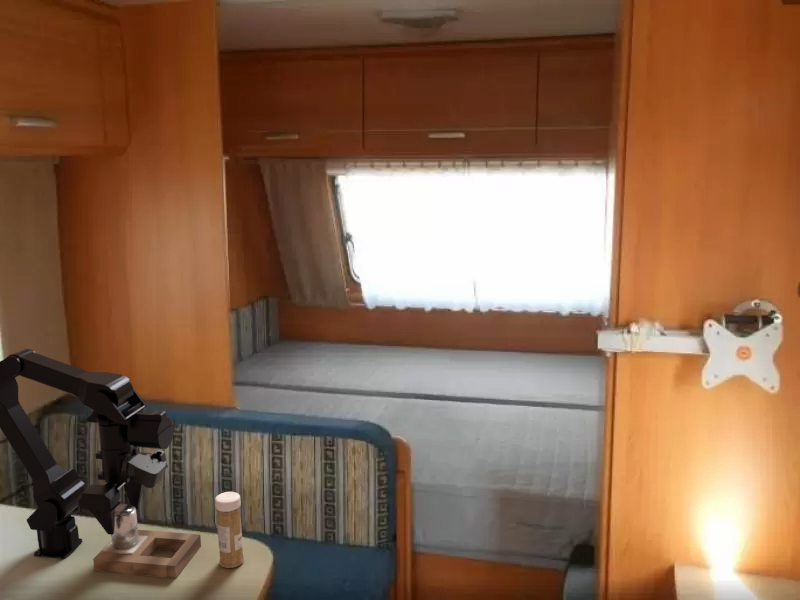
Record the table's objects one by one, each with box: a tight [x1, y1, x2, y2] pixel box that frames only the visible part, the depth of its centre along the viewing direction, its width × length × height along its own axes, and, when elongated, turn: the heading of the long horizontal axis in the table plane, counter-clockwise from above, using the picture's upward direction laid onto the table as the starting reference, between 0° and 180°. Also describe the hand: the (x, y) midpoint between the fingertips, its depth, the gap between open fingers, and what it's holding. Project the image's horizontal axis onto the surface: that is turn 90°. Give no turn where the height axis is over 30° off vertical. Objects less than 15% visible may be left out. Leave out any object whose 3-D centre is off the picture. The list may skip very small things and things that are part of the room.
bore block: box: [92, 529, 202, 579], centre depth 144 cm, size 16×11×3 cm
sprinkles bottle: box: [214, 491, 245, 569], centre depth 142 cm, size 5×5×14 cm
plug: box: [110, 503, 139, 550], centre depth 144 cm, size 5×5×7 cm
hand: (123, 521), depth 144 cm, fingers open, 9 cm apart
